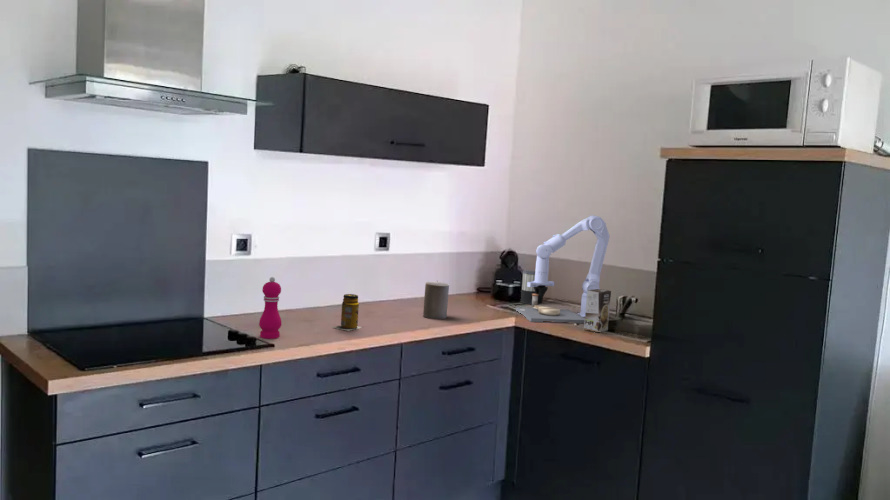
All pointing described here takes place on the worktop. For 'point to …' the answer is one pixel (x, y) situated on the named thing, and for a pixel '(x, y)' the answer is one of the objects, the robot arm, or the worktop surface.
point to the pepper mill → (270, 311)
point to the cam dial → (544, 309)
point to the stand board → (550, 316)
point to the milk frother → (527, 291)
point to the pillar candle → (436, 300)
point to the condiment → (349, 313)
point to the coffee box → (597, 309)
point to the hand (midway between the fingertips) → (539, 302)
